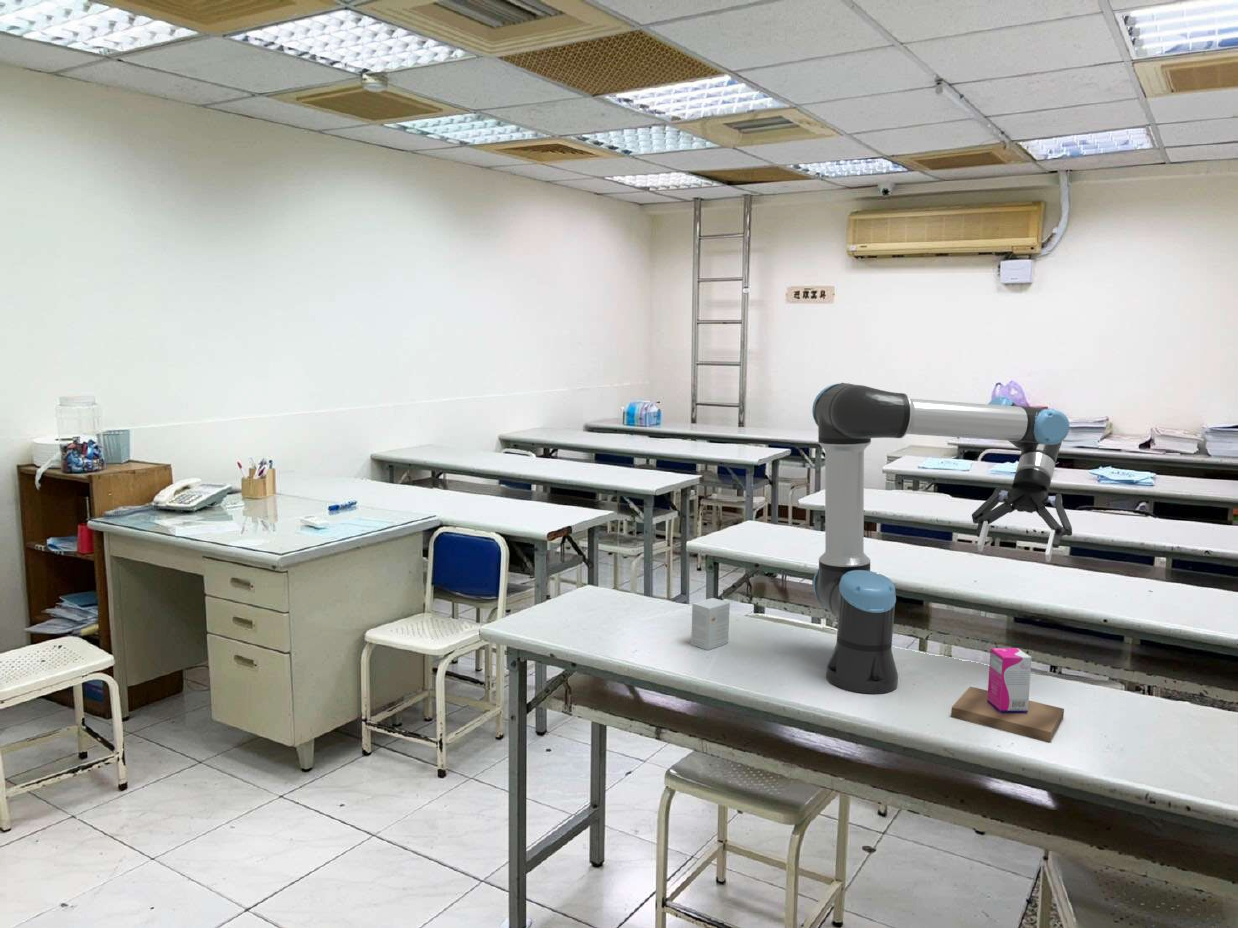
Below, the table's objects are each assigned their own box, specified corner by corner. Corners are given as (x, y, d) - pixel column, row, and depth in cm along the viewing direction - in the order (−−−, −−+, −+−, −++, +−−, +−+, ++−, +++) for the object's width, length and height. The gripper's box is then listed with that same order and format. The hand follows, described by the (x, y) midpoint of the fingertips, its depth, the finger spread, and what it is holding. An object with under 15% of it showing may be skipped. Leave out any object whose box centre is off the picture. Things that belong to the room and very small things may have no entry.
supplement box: (1013, 701, 175) (1018, 647, 173) (1028, 713, 169) (1033, 657, 167) (985, 701, 174) (990, 646, 173) (999, 713, 169) (1004, 657, 167)
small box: (711, 637, 215) (712, 597, 214) (728, 643, 211) (730, 602, 210) (690, 644, 210) (691, 603, 208) (707, 650, 206) (709, 608, 204)
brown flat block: (950, 716, 171) (951, 707, 171) (969, 695, 182) (970, 686, 182) (1050, 742, 161) (1051, 732, 160) (1063, 718, 172) (1064, 708, 172)
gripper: (1095, 493, 190) (1078, 572, 180) (977, 481, 205) (955, 553, 195) (1094, 472, 185) (1076, 552, 175) (973, 461, 200) (950, 534, 190)
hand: (1012, 553), depth 185 cm, fingers open, 13 cm apart
